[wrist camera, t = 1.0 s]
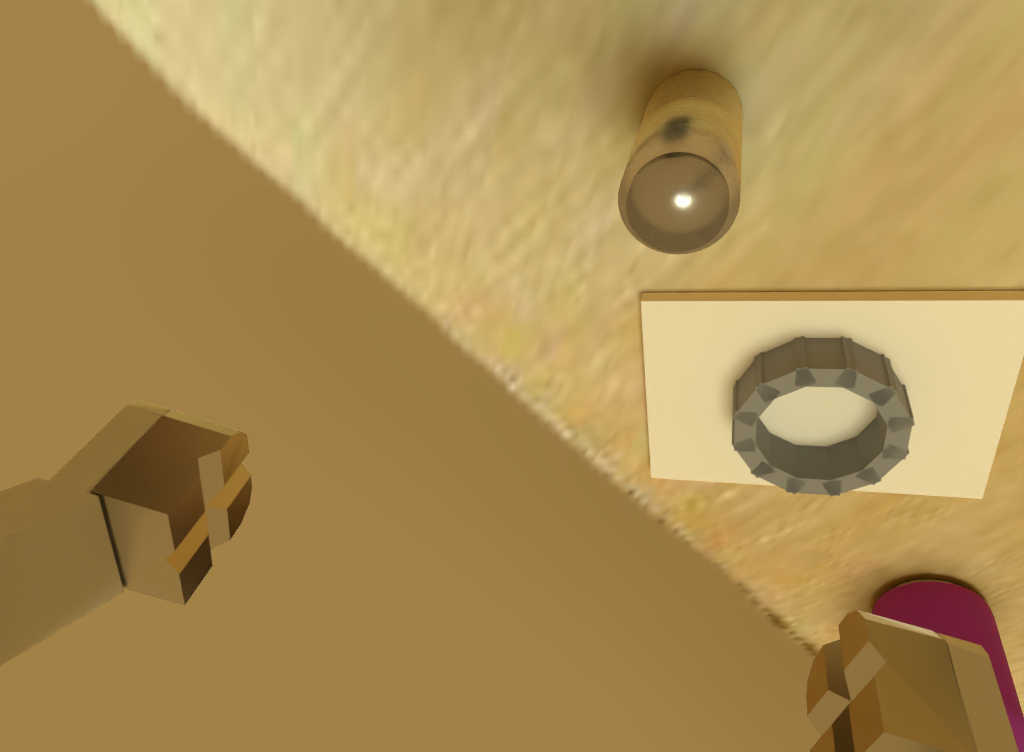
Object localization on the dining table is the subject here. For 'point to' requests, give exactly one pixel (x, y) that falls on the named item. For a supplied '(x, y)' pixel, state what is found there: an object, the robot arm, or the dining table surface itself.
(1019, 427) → the dining table surface
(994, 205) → the dining table surface
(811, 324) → the ring block
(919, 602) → the beverage can
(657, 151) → the cylinder
